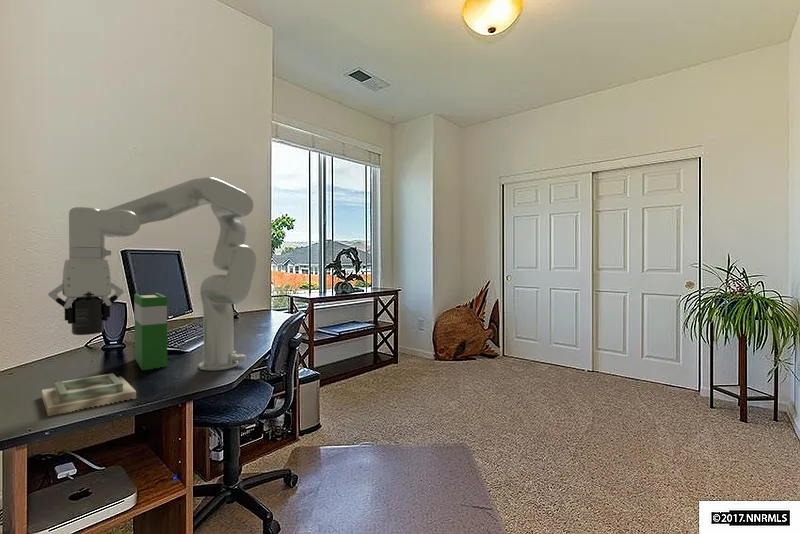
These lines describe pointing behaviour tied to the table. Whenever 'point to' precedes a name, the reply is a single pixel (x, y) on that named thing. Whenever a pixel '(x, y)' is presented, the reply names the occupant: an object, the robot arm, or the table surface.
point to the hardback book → (150, 330)
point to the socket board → (86, 393)
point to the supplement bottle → (87, 315)
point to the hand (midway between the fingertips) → (87, 321)
